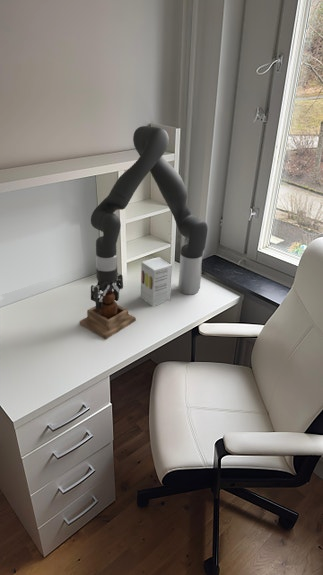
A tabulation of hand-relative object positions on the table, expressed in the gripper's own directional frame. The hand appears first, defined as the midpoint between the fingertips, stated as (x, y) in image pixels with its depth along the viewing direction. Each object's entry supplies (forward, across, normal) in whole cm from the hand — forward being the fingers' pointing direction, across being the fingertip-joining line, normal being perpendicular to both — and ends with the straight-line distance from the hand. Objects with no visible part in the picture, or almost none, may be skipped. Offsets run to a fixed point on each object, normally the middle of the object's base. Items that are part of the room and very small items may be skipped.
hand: (107, 304), depth 153 cm
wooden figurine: (+7, 0, 0) cm, 7 cm away
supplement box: (+8, -26, +2) cm, 27 cm away
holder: (+8, 0, 0) cm, 8 cm away
